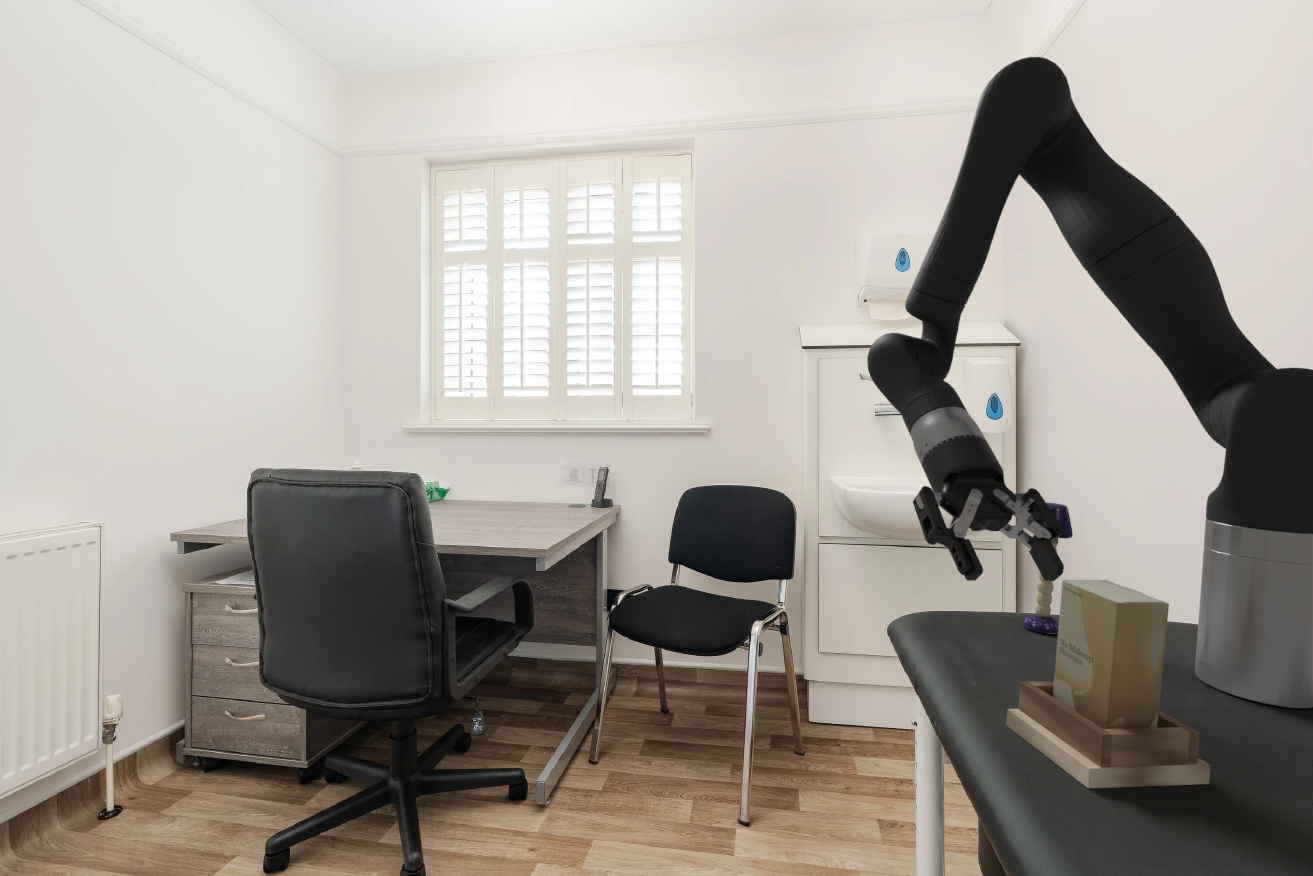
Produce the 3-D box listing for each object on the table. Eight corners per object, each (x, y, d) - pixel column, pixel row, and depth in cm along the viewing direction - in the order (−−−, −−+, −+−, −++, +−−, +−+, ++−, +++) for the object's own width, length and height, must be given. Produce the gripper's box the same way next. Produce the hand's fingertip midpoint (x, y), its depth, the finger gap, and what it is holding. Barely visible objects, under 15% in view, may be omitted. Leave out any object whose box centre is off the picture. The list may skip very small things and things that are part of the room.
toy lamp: (1053, 624, 81) (1061, 501, 80) (1074, 637, 76) (1082, 507, 76) (1016, 622, 81) (1023, 500, 81) (1034, 635, 77) (1042, 505, 76)
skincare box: (1048, 714, 53) (1056, 577, 52) (1095, 714, 53) (1104, 577, 53) (1108, 756, 47) (1118, 600, 46) (1161, 756, 47) (1171, 601, 46)
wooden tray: (1108, 722, 55) (1111, 679, 55) (1209, 784, 46) (1212, 732, 46) (1006, 725, 54) (1008, 681, 54) (1088, 788, 45) (1091, 736, 45)
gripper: (909, 430, 67) (967, 557, 57) (1027, 434, 69) (1105, 558, 58) (884, 473, 73) (932, 595, 62) (994, 475, 75) (1059, 595, 64)
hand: (1015, 577), depth 60 cm, fingers open, 8 cm apart
